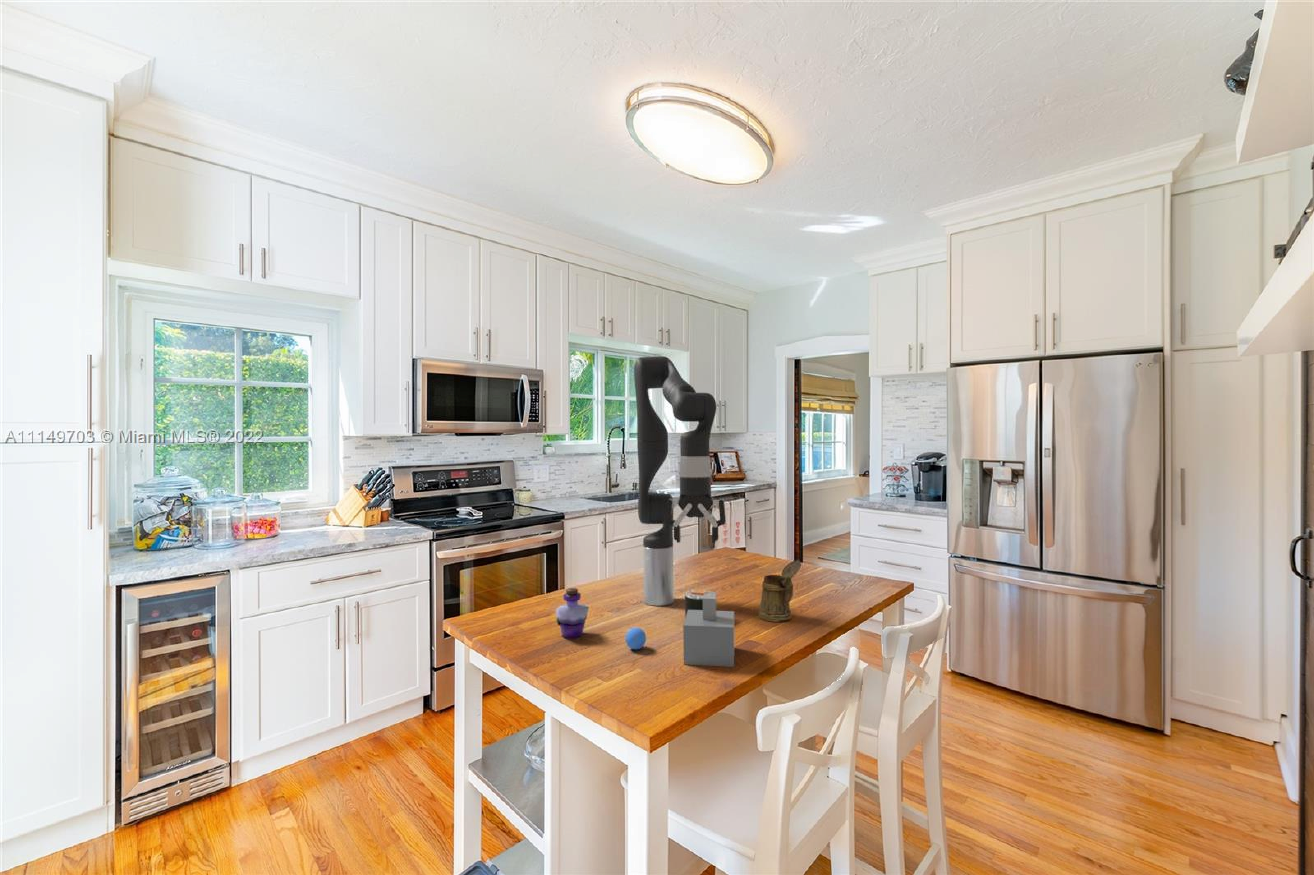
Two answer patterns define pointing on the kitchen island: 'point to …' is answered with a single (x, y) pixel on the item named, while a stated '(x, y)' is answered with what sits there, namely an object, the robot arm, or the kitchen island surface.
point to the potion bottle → (572, 615)
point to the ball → (635, 638)
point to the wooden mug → (778, 594)
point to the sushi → (695, 599)
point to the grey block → (709, 635)
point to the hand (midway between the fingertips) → (696, 542)
